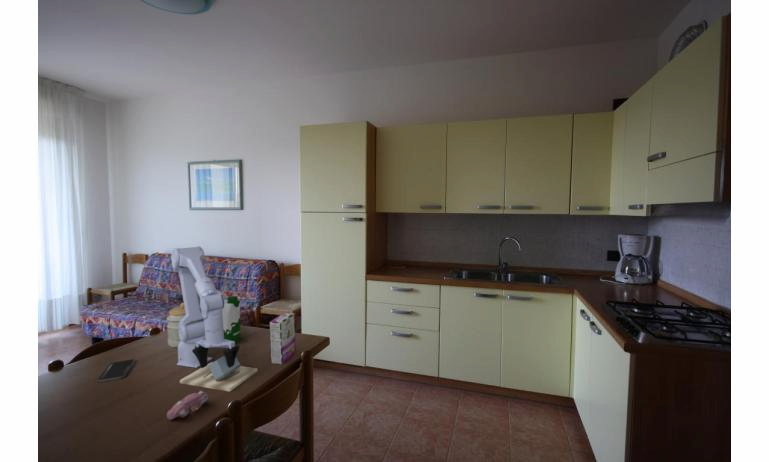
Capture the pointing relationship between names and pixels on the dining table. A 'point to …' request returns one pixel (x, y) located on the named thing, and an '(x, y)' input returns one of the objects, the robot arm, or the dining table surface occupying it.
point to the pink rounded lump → (187, 405)
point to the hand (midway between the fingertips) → (216, 367)
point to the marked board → (228, 383)
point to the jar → (175, 324)
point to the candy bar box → (282, 338)
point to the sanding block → (222, 368)
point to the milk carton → (232, 319)
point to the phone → (116, 370)
